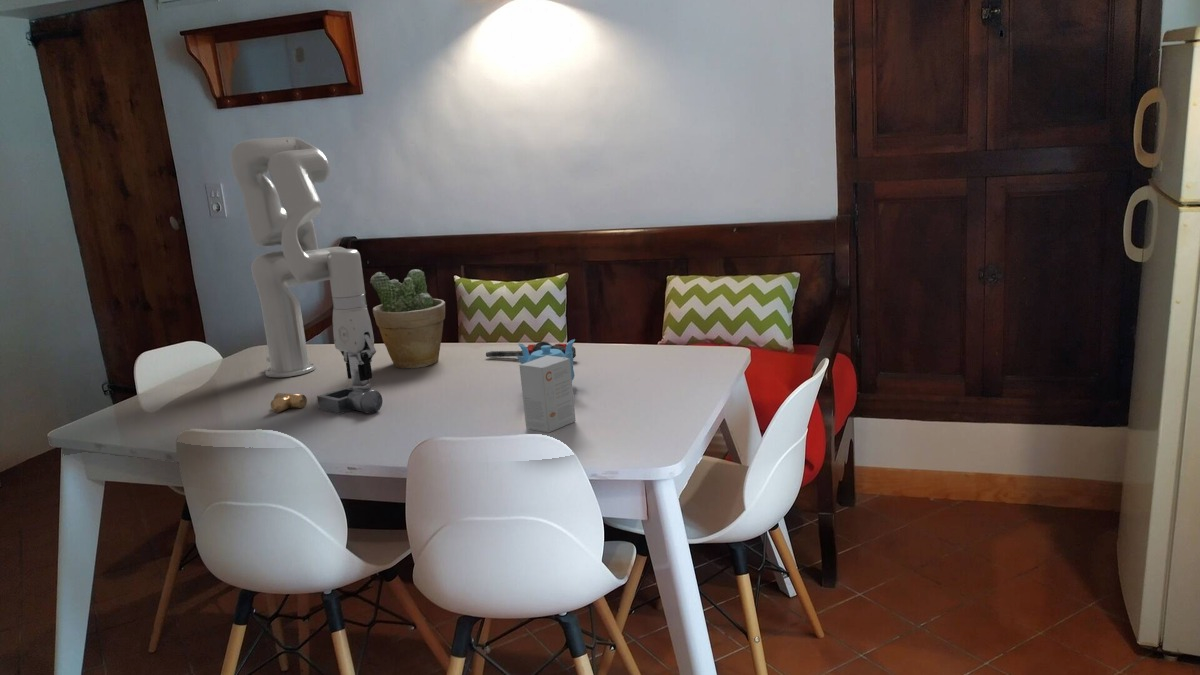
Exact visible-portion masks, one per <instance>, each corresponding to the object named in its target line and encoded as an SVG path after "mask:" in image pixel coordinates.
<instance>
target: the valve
mask: <svg viewBox="0 0 1200 675" xmlns="http://www.w3.org/2000/svg"><path fill="white" fill-rule="evenodd" d="M567 344H568V343H559V342H558V343H555V344H554V345H552V344H551V343H550V342H547V341H539V342H537V343H536V344H535V343H534V344H528V345H527V346H526V347H527V349H528V351H529V354H530V355H531V354H532V353H533V352H535V351H538V350H542V349H541V347H542V346H545V345H550V346H551V349H559V350H561V351H562V352H563V353H564V354H565V351H566V346H567ZM573 351H574V352H573ZM572 352H573V359H575V358H576V356H577V355H576V354H577V352H576V348H575V347H574V345H573V346H572ZM516 356H523V352H522V350H499V351H497V350H495V351H493V350H492V351H486V352H485V357H487V358H489V357H490V358H497V357H499V358H500V357H503V358H504V357H516Z"/></svg>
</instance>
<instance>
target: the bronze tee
mask: <svg viewBox="0 0 1200 675" xmlns="http://www.w3.org/2000/svg"><path fill="white" fill-rule="evenodd" d="M307 402H308V398H307V396H306V395H305V394H297V393H284V392H283V393H282V392H281V393H280V392H277V393H276V394H275V395H274V397H273V399H272V400H271V402H270V408H271V410H272V411H273V413H276V414H279V413H280V412H283V411H286V410H287V409H291V408H296V409H303V408H306V405H307V404H308V403H307Z"/></svg>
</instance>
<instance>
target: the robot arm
mask: <svg viewBox="0 0 1200 675" xmlns="http://www.w3.org/2000/svg"><path fill="white" fill-rule="evenodd" d="M329 163H330V162H329V161H328V159H327V156H326V155H325V154H324V152H322V150H320V149H319V148H318V147H317V146H314V145H313V144H311V143H308V142H307V141H305V140H303V139H302V138H300V137H296V136H295V137H294V136H283V137H264V138H260V137H259V138H250V139H246V140H242V141H240V142H238V143H236V144H235V145H234V146H233V148H232V149H231V152H230V166H231V170H232V173H233V177H234V179H235V181H236V183H237V184H238V187H239V189H240V191H241V194H242V197H243V202H244V203H243V204H244V209H245V213H246V219H247V224H248V228H249V232H250V237H251V239H252V241H253V243H254V244H255V245H257V246H258V247H262V248H271V247H278V246H281V250H276V251H269V252H265V253H262V254H260V255H258V256H256V257H255V258H254V259H253V261H252V263H251V266H250V267H251V268H250V269H251V275H252V279H253V281H254V282H253V283H254V284H255V285H254V286H255V287H256V291H257V294H258V298H259V302H260V307H261V312H262V313H261V314H262V319H263V325H264V333H265V338H266V345H267V350H268V351H267V352H268V356H267V357H266V362H267V363H268V362H269V364H270V367H268V368H266V369H265V375H266V377H268V378H289V377H294V376H295V377H296V376H301V375H304V374H307V373H311V372H312V371H314V370H315V369H316V363H315V362H312V361H309V356H308V348H307V341H306V335H305V328H304V322H303V314H302V310H301V308H302V307H301V304H300V302H299V299H298V298H297V297H296V296H295V294H293V293H292V292H291V290H290V288H292V287H296V286H302V285H307V284H313V283H318V282H324V281H329V283H330V284H329V285H330V291H331V297H332V304H333V306H332V307H333V309H332V333H333V344H334V347H335V349H336V350H338V351H339V352H340V353H341V355H342V356H343V362H344V363H345V365H346V373H347V374H346V375H347V379H349V380H352V379H351V372H350V365H349V357H348V353H347V352H352V353H357V356H358V360H359V365H358V371H359V378H360V381H365V380H368V379H369V380H371V379H372V378H373V370H372V364H371V363H372V361H373V360H372V359H373V357H374V356H375V355H376V353H377V350H376V347H375V337H374V332H373V331H374V330H373V326H372V321H371V317H370V314H369V309H368V304H367V296H366V290H365V280H364V274H363V266H362V258H361V254H360V252H359V251H358V249H355V248H345V247H342V246H330V247H324V248H323V247H322V248H319V246H318V245H319V244H318V239H317V232H316V229H315V224H314V221H313V219H314V218H316V217H317V216H319V214H320V213H321V211H322V209H323V203H322V201H321V199H320V196H319V195H318V192H317V190H316V189H317V188H316V187H315V186H314V184H322V183H325V182H326V181H327V180H328V179H329V177H330V173H331V170H330V169H331V168H330V164H329ZM265 174H269V176H270V179H269V178H268V176H266V175H265ZM363 348H365V350H363ZM361 350H362V351H361ZM362 353H365V354H364V356H362Z"/></svg>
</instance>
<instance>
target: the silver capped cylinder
mask: <svg viewBox="0 0 1200 675" xmlns="http://www.w3.org/2000/svg"><path fill="white" fill-rule="evenodd" d="M363 350H365V348H363ZM361 351H362V350H361ZM347 353H348V357H349V365H350V372H351V379H350V380H351V388H355V389H360V390H365V391H368V390H371V386H372V385H371V381H370V379H368V380H365V381H360V378H359V371H358V365H359V360H358V356H357V353H352V352H347ZM364 354H365V353H362V356H364Z"/></svg>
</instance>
